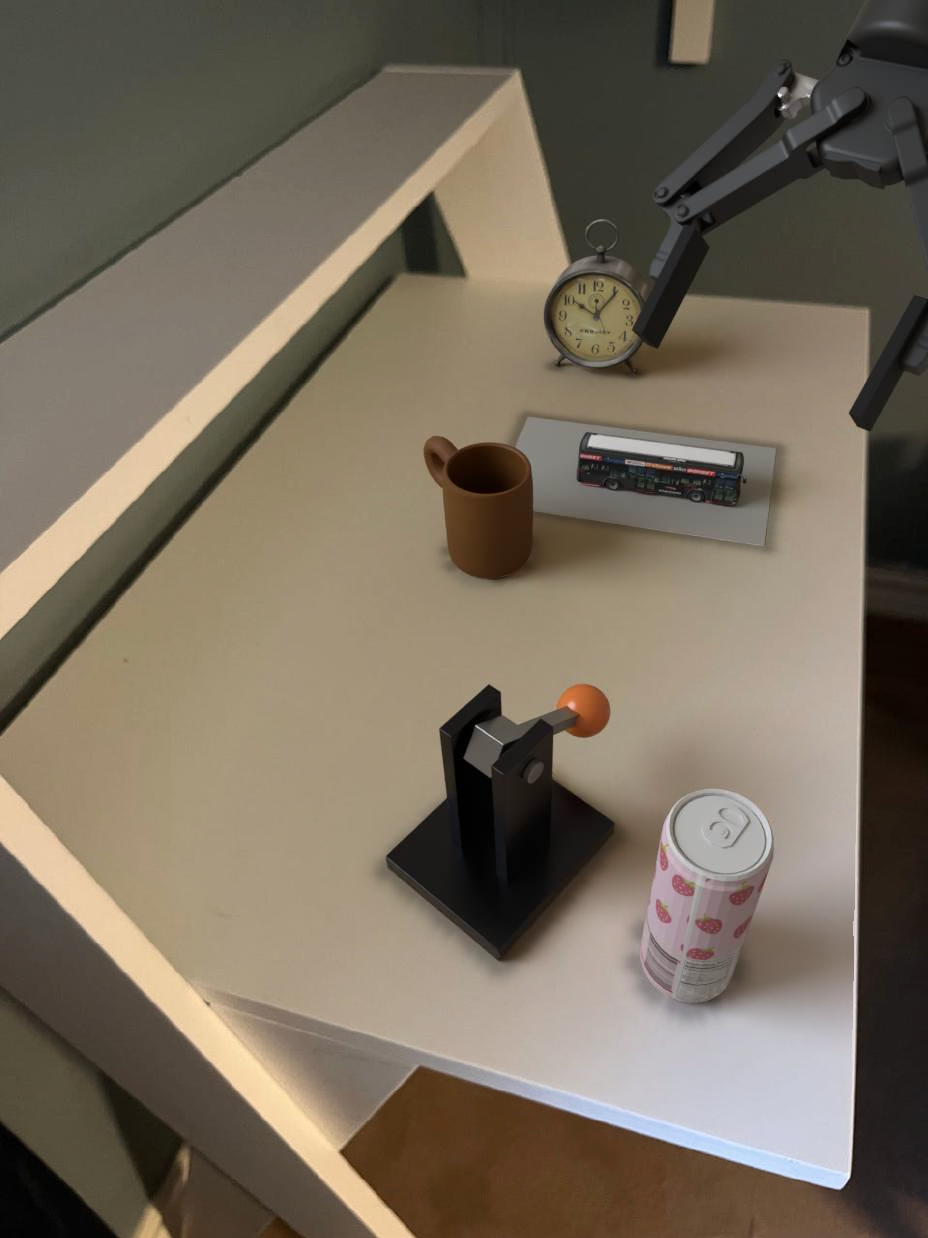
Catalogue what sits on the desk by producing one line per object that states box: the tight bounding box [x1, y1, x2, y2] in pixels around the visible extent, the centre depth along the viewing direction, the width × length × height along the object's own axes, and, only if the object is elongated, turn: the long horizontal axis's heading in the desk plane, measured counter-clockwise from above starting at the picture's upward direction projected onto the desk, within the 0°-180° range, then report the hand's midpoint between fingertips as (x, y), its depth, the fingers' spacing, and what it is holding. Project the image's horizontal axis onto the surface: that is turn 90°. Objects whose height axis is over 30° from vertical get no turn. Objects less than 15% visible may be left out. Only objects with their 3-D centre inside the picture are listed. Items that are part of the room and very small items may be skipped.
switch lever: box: [464, 683, 611, 778], centre depth 61 cm, size 13×4×4 cm, turn 138°
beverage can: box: [639, 788, 775, 1004], centre depth 54 cm, size 6×6×15 cm
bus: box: [514, 416, 777, 547], centre depth 91 cm, size 14×25×4 cm, turn 73°
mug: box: [423, 435, 534, 579], centre depth 84 cm, size 12×8×9 cm, turn 40°
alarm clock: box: [543, 218, 651, 375], centre depth 100 cm, size 11×5×16 cm, turn 73°
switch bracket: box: [385, 683, 616, 962], centre depth 60 cm, size 12×10×14 cm
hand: (745, 379), depth 54 cm, fingers open, 13 cm apart
